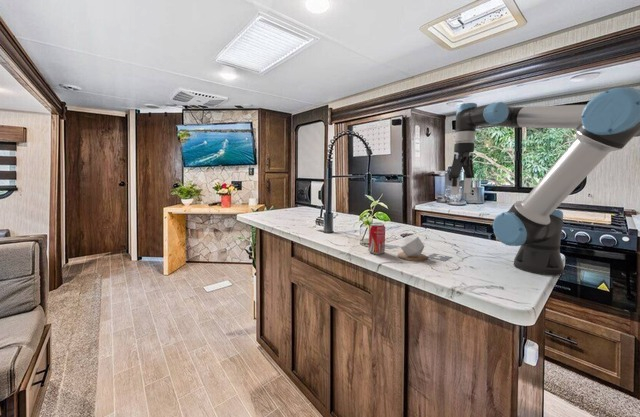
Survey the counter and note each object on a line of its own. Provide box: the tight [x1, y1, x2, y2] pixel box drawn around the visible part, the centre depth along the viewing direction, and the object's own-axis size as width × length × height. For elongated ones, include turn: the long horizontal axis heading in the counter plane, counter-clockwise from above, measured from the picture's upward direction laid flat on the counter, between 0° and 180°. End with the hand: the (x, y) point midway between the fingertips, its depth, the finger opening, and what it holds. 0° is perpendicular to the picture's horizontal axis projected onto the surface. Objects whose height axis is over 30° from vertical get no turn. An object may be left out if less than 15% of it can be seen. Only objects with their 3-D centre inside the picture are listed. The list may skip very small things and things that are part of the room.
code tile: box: [426, 252, 453, 262], centre depth 125 cm, size 8×8×1 cm
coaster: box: [397, 251, 428, 262], centre depth 125 cm, size 12×12×1 cm
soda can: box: [368, 222, 386, 255], centre depth 131 cm, size 7×7×13 cm
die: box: [400, 236, 425, 257], centre depth 125 cm, size 8×9×10 cm
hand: (461, 193), depth 125 cm, fingers open, 13 cm apart
